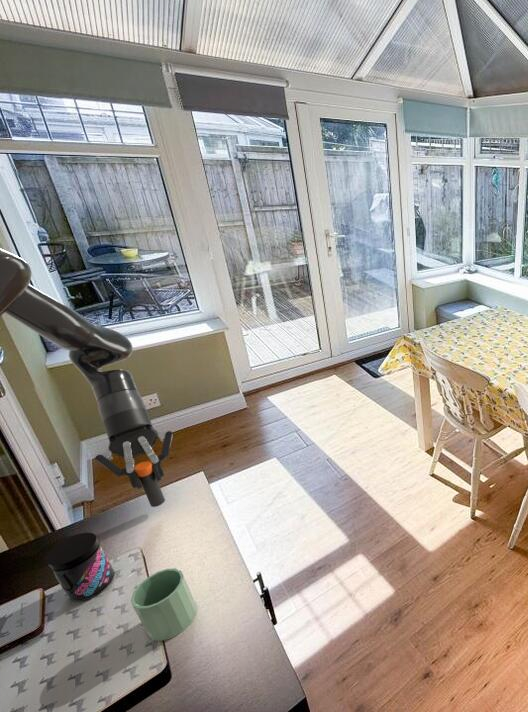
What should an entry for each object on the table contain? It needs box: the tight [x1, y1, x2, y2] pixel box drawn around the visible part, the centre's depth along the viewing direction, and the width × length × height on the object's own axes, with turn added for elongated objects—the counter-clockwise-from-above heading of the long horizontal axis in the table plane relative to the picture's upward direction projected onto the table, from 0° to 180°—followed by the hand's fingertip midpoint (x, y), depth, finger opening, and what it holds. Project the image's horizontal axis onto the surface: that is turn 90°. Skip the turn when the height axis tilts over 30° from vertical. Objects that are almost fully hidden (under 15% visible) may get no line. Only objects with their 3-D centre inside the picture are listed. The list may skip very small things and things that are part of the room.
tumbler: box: [130, 567, 198, 642], centre depth 72 cm, size 7×7×9 cm
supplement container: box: [44, 532, 116, 602], centre depth 77 cm, size 7×7×10 cm
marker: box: [135, 460, 166, 508], centre depth 93 cm, size 3×3×11 cm
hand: (150, 484), depth 91 cm, fingers closed on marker, 2 cm apart
